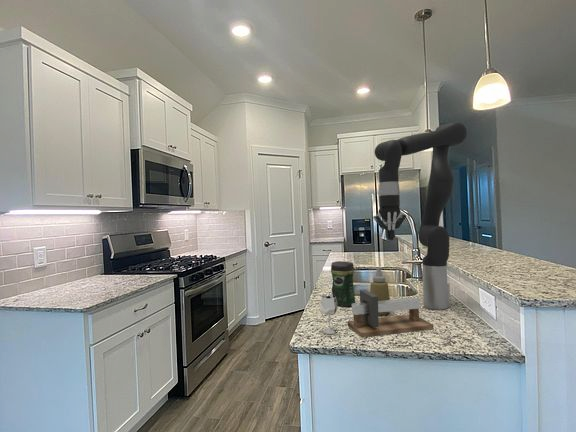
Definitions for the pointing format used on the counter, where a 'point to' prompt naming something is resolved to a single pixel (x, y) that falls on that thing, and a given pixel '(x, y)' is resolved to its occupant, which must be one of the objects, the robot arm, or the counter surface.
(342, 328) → the counter surface
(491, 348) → the counter surface
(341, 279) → the coffee jar
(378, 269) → the squeeze bottle
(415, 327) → the board
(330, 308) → the wineglass
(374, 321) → the dark grey flat piece
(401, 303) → the grey square bar
